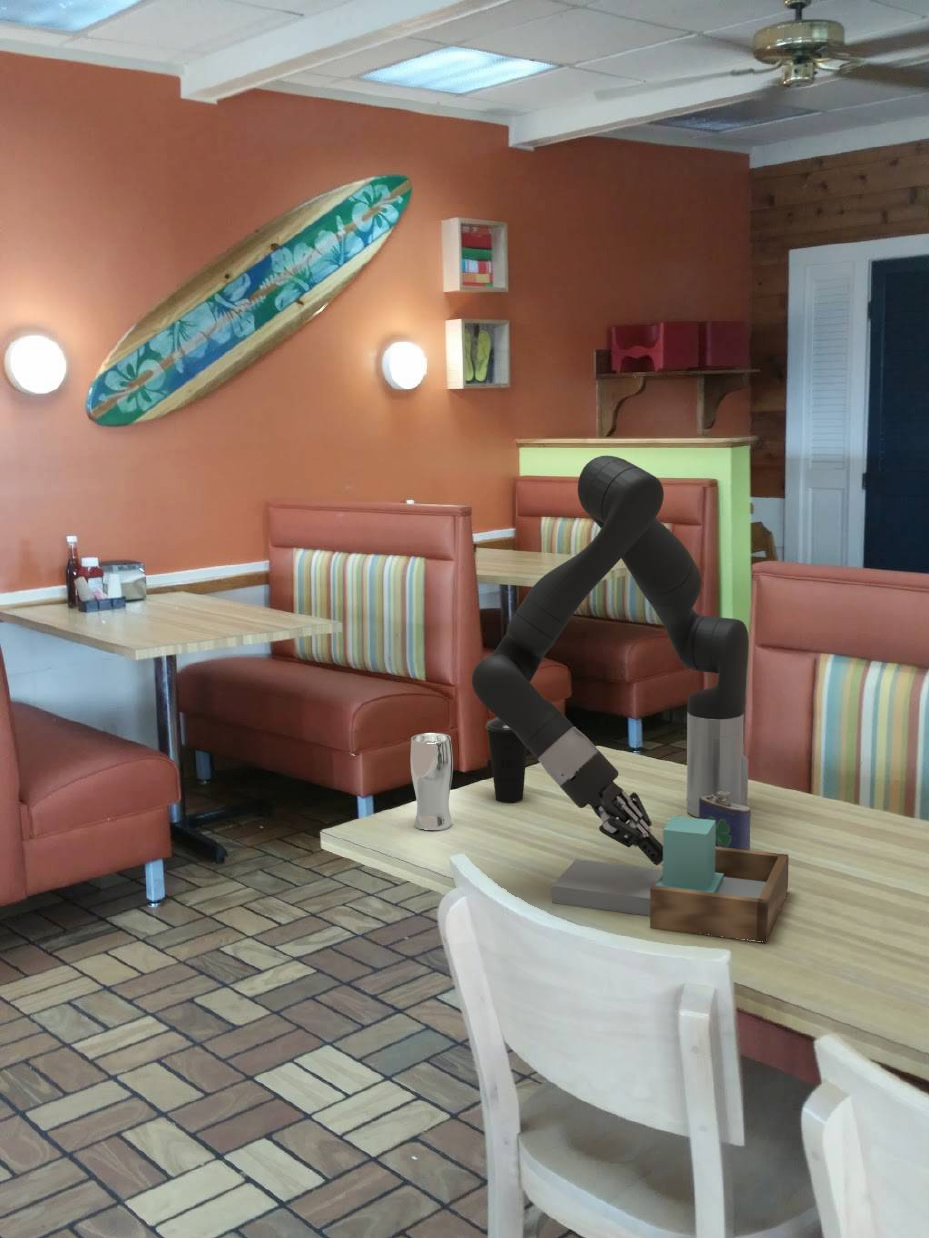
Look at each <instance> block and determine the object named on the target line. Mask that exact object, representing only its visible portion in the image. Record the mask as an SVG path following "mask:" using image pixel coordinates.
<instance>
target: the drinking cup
mask: <svg viewBox="0 0 929 1238" xmlns="http://www.w3.org/2000/svg"><path fill="white" fill-rule="evenodd" d="M485 728H486V729H487V734H488V735H487V736H488V743H489V752H490V761H491V768H492V777H493V779H492V780H493V787H494V794H495V801H497V802H499V803H504V804H514V803H519V802H522V801H523V800H524V789H525V780H526V779H525V776H526V764H527V763H526V761H527V752H528V751H527V749H528V748H527V747H526V746H525V745H524V744H523V743H522V741H521V740H520V739H519V738H518V736H517V735H516V734H515V733H514V732H513V731H512V730H511V729H510V728H509V727H508V726H507V725H505V724H504V723H503V722H502V721H501V720H500V719H499V718H498V717H496V718H493V719H492V720H489V721H487V722H486V723H485Z"/></svg>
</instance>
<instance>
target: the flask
mask: <svg viewBox="0 0 929 1238" xmlns="http://www.w3.org/2000/svg"><path fill="white" fill-rule="evenodd" d="M726 792H727V793H725V792H723V791H720V792H717V794H718V795H720V797H715V796H714V795H713V794H712V795H710V796H702V797H700V799H699V818H698V819H707V820H716V842H715V846H716V847H725V848H734V849H743V850H751V816H752V810H751V807H750V806H749V805H748V806H742V805H738V804H734V803H730V802H728V799H729V798H728V796H729V795H730V793H729V792H728V791H726Z"/></svg>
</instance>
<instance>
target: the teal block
mask: <svg viewBox="0 0 929 1238" xmlns="http://www.w3.org/2000/svg"><path fill="white" fill-rule="evenodd" d="M715 842H716V820H707V819H699V818H698V817H685V816H676V815H673V816H671V818H670V820H668V822H667V824H666V825H665V826H664V827H663V829H662V846H663V861H662V869H663V874H662V876H661V877H660V879H659V880H658V882H657V883H656V885H655V886H663V887H671V888H679V889H687V890H695V891H703V892H711V893H717V892H718V890H719V888H720V886H721V884H722V882H723V880H724V873H715Z"/></svg>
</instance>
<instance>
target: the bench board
mask: <svg viewBox="0 0 929 1238" xmlns="http://www.w3.org/2000/svg"><path fill="white" fill-rule="evenodd" d="M662 874H663V868H661V869H660V868H652V867H645V866H638V865H637V866H636V865H628V864H621V863H620V864H619V863H613V862H603V861H594V860H588V859H579V858H575V860H573V862H572V863H570V865H569V866H568V867H567V868H566V870H565V871H563V873H562V874H561V875H560V876H559V877H558V879H557V880H556V881H555V882H554V883H553V884H552V885H551V900H552V901H551V902H552V903H551V904H553V903H554V904H559V905H560V904H561V905H567V906H575V907H582V908H589V909H596V910H604V911H611V912H618V913H626V914H633V915H640V916H647V917H648V916H649V917H650V888H651V887H652V885H656V883H657V882H658V880H659V879H660V877H661V876H662ZM765 884H766V882H762V881H753V880H745V879H737V878H729V877H724V880H723V882H722V884H721V886H720V888H719V890H718V892H717V893H719V894H727V895H735V896H743V897H751V898H758V899H759V897H760V895H761V892H762V890H763V888H764V886H765Z"/></svg>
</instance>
